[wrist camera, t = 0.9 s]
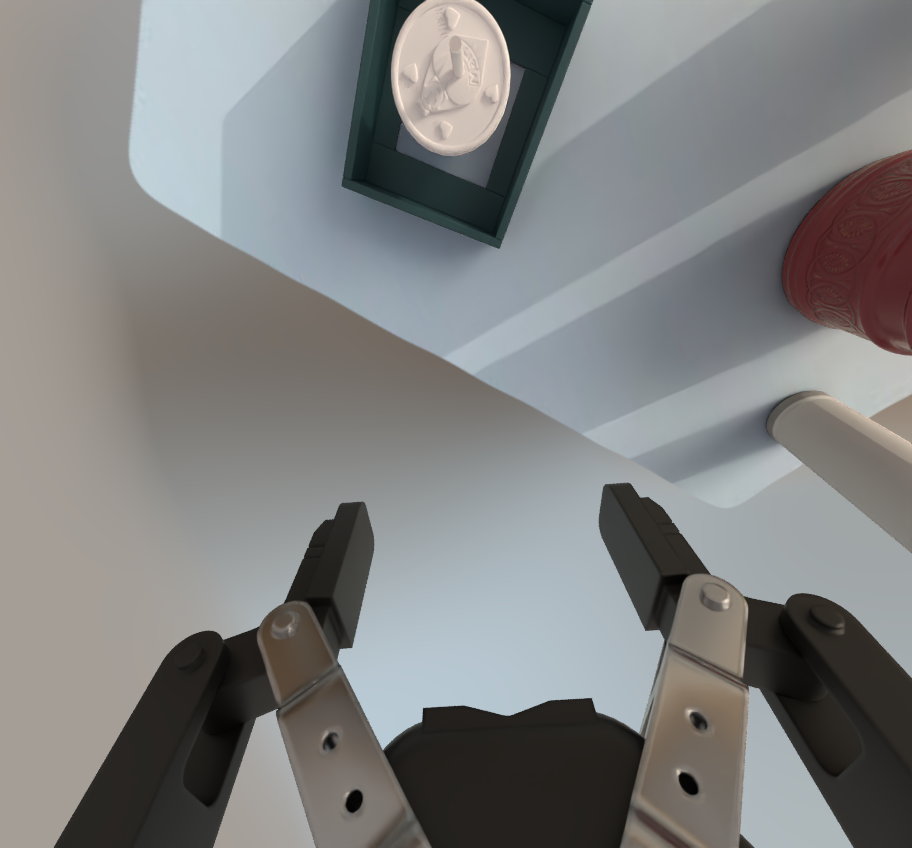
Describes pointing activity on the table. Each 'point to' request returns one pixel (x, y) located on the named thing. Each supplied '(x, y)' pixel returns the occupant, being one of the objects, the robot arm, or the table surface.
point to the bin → (489, 210)
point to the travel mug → (850, 457)
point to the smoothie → (450, 75)
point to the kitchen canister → (858, 256)
